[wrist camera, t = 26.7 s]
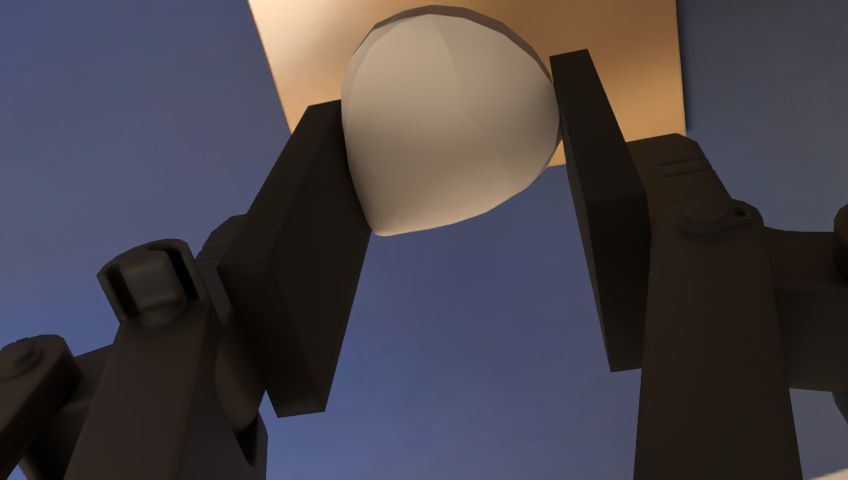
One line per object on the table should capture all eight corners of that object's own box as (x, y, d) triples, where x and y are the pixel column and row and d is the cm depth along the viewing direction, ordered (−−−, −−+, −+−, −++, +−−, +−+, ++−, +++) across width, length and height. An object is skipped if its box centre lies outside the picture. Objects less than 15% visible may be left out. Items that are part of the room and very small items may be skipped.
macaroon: (593, 66, 16) (610, 109, 14) (465, 250, 18) (463, 313, 16) (405, -46, 15) (391, -20, 13) (296, 162, 17) (269, 214, 15)
